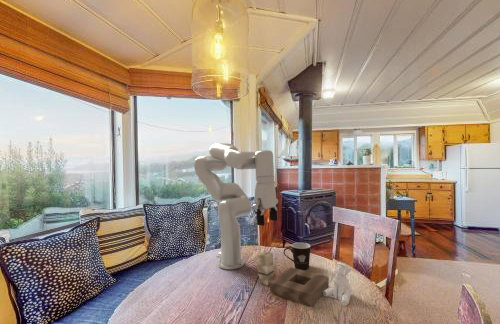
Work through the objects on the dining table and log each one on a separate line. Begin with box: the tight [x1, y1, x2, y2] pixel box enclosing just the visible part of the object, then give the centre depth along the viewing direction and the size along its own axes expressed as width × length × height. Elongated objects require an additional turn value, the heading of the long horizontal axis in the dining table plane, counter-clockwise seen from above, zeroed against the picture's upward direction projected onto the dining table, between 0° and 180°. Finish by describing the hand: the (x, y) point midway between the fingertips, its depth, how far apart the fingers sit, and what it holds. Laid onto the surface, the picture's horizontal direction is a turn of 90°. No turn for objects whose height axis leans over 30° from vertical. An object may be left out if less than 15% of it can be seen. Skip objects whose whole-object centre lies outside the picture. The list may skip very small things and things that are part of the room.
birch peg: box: [257, 251, 275, 286], centre depth 99 cm, size 4×4×12 cm
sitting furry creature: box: [322, 261, 352, 307], centre depth 87 cm, size 10×9×12 cm
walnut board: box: [270, 266, 330, 308], centre depth 93 cm, size 16×16×4 cm
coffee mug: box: [283, 242, 311, 271], centre depth 114 cm, size 12×9×10 cm
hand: (267, 222), depth 100 cm, fingers open, 9 cm apart
